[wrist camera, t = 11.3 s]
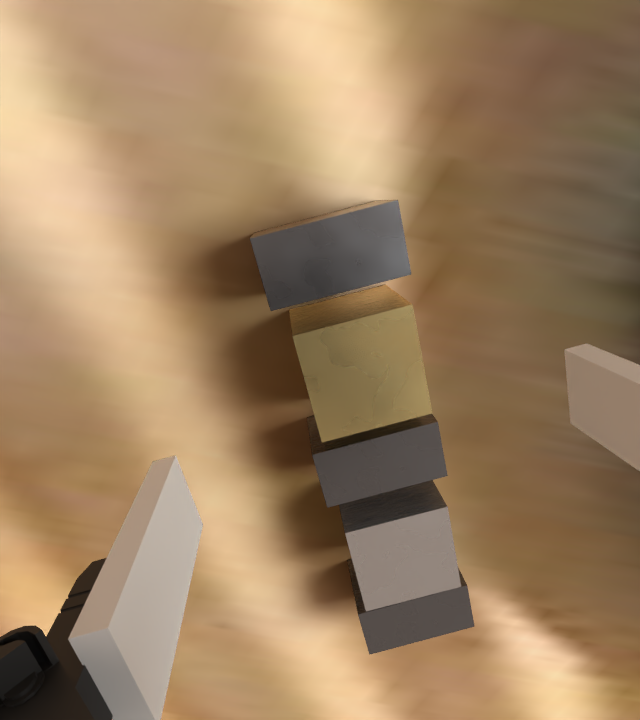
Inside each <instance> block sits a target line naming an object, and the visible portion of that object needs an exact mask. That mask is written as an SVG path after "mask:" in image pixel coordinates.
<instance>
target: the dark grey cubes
mask: <svg viewBox="0 0 640 720" xmlns="http://www.w3.org/2000/svg"><path fill="white" fill-rule="evenodd" d="M250 241H251V244H252V248H253V251H254V254H255V258H256V261H257V265H258V268H259V272H260V275H261V279H262V282H263V286H264V289H265V293H266V296H267V300H268V303H269V307H270V310H271V311H273V310H277V309H281V308H285V307H289V306H292V305H296V304H300V303H304V302H308V301H312V300H315V299H319V298H323V297H327V296H331V295H334V294H338V293H342V292H346V291H350V290H353V289H357V288H361V287H365V286H369V285H372V284H376V283H380V282H384V281H388V280H392V279H395V278H399V277H403V276H407V275H411V270H410V264H409V259H408V253H407V248H406V242H405V237H404V231H403V225H402V220H401V214H400V209H399V203H398V200H378V201H373V202H370V203H366V204H362V205H358V206H354V207H350V208H347V209H343V210H339V211H335V212H331V213H327V214H324V215H320V216H316V217H312V218H308V219H304V220H301V221H297V222H293V223H289V224H285V225H281V226H278V227H274V228H270V229H266V230H262V231H259V232H255V233H254V234H253V235H252V236H251V238H250ZM307 423H308V430H309V436H310V443H311V450H312V456H313V459H314V463H315V466H316V470H317V473H318V477H319V480H320V484H321V487H322V491H323V494H324V498H325V501H326V505H327V508H328V507H332V506H336V505H340V504H343V503H347V502H351V501H355V500H358V499H362V498H366V497H370V496H373V495H377V494H381V493H385V492H389V491H392V490H396V489H400V488H404V487H407V486H411V485H415V484H419V483H422V482H426V481H430V480H434V479H437V478H441V477H445V476H447V471H446V465H445V460H444V454H443V448H442V443H441V437H440V432H439V426H438V422H437V420H436V419H435V417H434V416H433V415H432V414H428V415H424V416H420V417H417V418H413V419H409V420H405V421H402V422H398V423H394V424H390V425H386V426H383V427H379V428H375V429H371V430H368V431H364V432H360V433H356V434H352V435H349V436H345V437H341V438H337V439H334V440H330V441H326V442H322V441H321V438H320V434H319V430H318V427H317V423H316V420H315V416H311V417H307ZM347 562H348V567H349V572H350V577H351V582H352V587H353V592H354V596H355V601H356V606H357V611H358V616H359V619H360V623H361V626H362V630H363V633H364V637H365V640H366V644H367V647H368V651H369V654H373V653H377V652H381V651H385V650H388V649H392V648H396V647H400V646H403V645H407V644H411V643H414V642H418V641H422V640H426V639H429V638H433V637H437V636H441V635H444V634H448V633H452V632H455V631H459V630H463V629H467V628H470V627H474V621H473V616H472V610H471V605H470V599H469V593H468V588H467V584H466V582H465V580H464V578H463V576H462V574H461V572H460V570H459V568H458V571H459V577H460V583H461V587H458V588H454V589H451V590H447V591H443V592H439V593H435V594H431V595H428V596H424V597H420V598H416V599H412V600H408V601H405V602H401V603H397V604H393V605H389V606H385V607H382V608H378V609H374V610H370V611H366V610H365V606H364V602H363V599H362V595H361V591H360V587H359V584H358V580H357V576H356V572H355V569H354V565H353V561H352V559H351V560H347Z"/></svg>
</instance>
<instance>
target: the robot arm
mask: <svg viewBox="0 0 640 720" xmlns="http://www.w3.org/2000/svg"><path fill="white" fill-rule="evenodd" d="M564 351H565V363H566V375H567V386H568V398H569V410H570V422H571V424H572V425H574V426H575V427H577V428H578V429H580V430H581V431H582V432H584V433H585V434H587V435H588V436H590V437H591V438H592V439H594V440H595V441H597V442H598V443H600V444H601V445H603V446H604V447H605V448H607V449H608V450H610V451H611V452H613V453H614V454H616V455H617V456H618V457H620V458H621V459H623V460H624V461H626V462H627V463H629V464H630V465H631V466H633V467H634V468H636V469H637V470H639V471H640V365H638V364H636V363H633V362H631V361H628V360H626V359H623V358H621V357H618V356H616V355H613V354H611V353H609V352H606V351H604V350H601V349H599V348H596V347H594V346H591V345H589V344H583V345H580V346H576V347H572V348H569V349H565V350H564ZM202 527H203V523H202V521H201V518H200V516H199V513H198V510H197V508H196V505H195V503H194V500H193V498H192V495H191V493H190V490H189V488H188V485H187V482H186V480H185V477H184V475H183V472H182V470H181V467H180V465H179V462H178V460H177V457H176V455H175V456H171V457H167V458H164V459H160V460H156V461H153V462H152V464H151V466H150V468H149V470H148V472H147V474H146V477H145V479H144V481H143V483H142V485H141V487H140V489H139V491H138V493H137V495H136V497H135V500H134V502H133V504H132V506H131V508H130V510H129V512H128V514H127V516H126V518H125V521H124V523H123V525H122V527H121V529H120V531H119V533H118V535H117V537H116V539H115V542H114V544H113V546H112V548H111V550H110V552H109V554H108V556H107V558H105V559H101V560H97V561H94V562H92V563H91V564H90V565H89V566H88V567H87V569H86V570H85V571H84V572H83V573H82V574H81V575H80V576H79V577H78V578H77V580H76V582H75V584H74V586H73V587H72V589H71V591H70V593H69V595H68V599H66V601H65V603H64V604H63V606H62V608H61V613H59V614H58V616H57V618H56V619H55V621H54V623H53V625H52V627H51V629H50V631H49V633H48V635H47V636H46V637H45V635H44V633H43V631H42V630H41V629H40V628H38V627H37V626H23V627H21V628H18V629H15V630H12V631H10V632H8V633H6V634H5V635H3V636H1V637H0V720H112V719H113V720H161V716H162V711H163V707H164V702H165V697H166V693H167V688H168V684H169V679H170V674H171V670H172V665H173V660H174V656H175V651H176V647H177V642H178V637H179V633H180V628H181V624H182V619H183V614H184V610H185V605H186V601H187V596H188V591H189V587H190V582H191V578H192V573H193V568H194V564H195V559H196V555H197V550H198V545H199V541H200V536H201V531H202Z"/></svg>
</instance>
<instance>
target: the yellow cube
mask: <svg viewBox="0 0 640 720" xmlns="http://www.w3.org/2000/svg"><path fill="white" fill-rule="evenodd" d="M289 313H290V321H291V329H292V337H293V340H294V344H295V347H296V351H297V355H298V358H299V362H300V365H301V369H302V373H303V376H304V380H305V383H306V387H307V391H308V394H309V398H310V402H311V405H312V409H313V412H314V416H315V420H316V423H317V427H318V430H319V434H320V438H321V441H322V442H326V441H330V440H334V439H337V438H341V437H345V436H349V435H352V434H356V433H360V432H364V431H368V430H371V429H375V428H379V427H383V426H386V425H390V424H394V423H398V422H402V421H405V420H409V419H413V418H417V417H420V416H424V415H428V414H432V409H431V404H430V398H429V393H428V387H427V382H426V376H425V371H424V365H423V360H422V354H421V349H420V343H419V338H418V332H417V327H416V321H415V316H414V310H413V305H412V304H411V303H410V302H408V301H407V300H406V299H404V298H403V297H401V296H400V295H399V294H397V293H396V292H395V291H393V290H392V289H391V288H389V287H388V286H387V285H382V286H378V287H374V288H371V289H367V290H363V291H359V292H355V293H352V294H348V295H344V296H340V297H336V298H333V299H329V300H325V301H321V302H317V303H313V304H310V305H306V306H302V307H298V308H294V309H291V310H289Z"/></svg>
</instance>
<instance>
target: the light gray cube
mask: <svg viewBox="0 0 640 720" xmlns="http://www.w3.org/2000/svg"><path fill="white" fill-rule="evenodd" d="M339 507H340V512H341V517H342V521H343V526H344V531H345V535H346V539H347V542H348V546H349V550H350V554H351V557H352V561H353V565H354V569H355V572H356V576H357V580H358V584H359V587H360V591H361V595H362V599H363V602H364V606H365V610H366V611H370V610H374V609H378V608H382V607H385V606H389V605H393V604H397V603H401V602H405V601H408V600H412V599H416V598H420V597H424V596H428V595H431V594H435V593H439V592H443V591H447V590H451V589H454V588H458V587H461V583H460V577H459V571H458V565H457V559H456V554H455V548H454V542H453V536H452V530H451V524H450V519H449V513H448V507H447V505H446V503H445V502H444V500H443V498H442V496H441V495H440V493H439V491H438V489H437V487H436V486H435V484H434V482H433V480H430V481H426V482H422V483H419V484H415V485H411V486H407V487H404V488H400V489H396V490H392V491H389V492H385V493H381V494H377V495H373V496H370V497H366V498H362V499H358V500H355V501H351V502H347V503H343V504H340V505H339Z"/></svg>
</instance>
